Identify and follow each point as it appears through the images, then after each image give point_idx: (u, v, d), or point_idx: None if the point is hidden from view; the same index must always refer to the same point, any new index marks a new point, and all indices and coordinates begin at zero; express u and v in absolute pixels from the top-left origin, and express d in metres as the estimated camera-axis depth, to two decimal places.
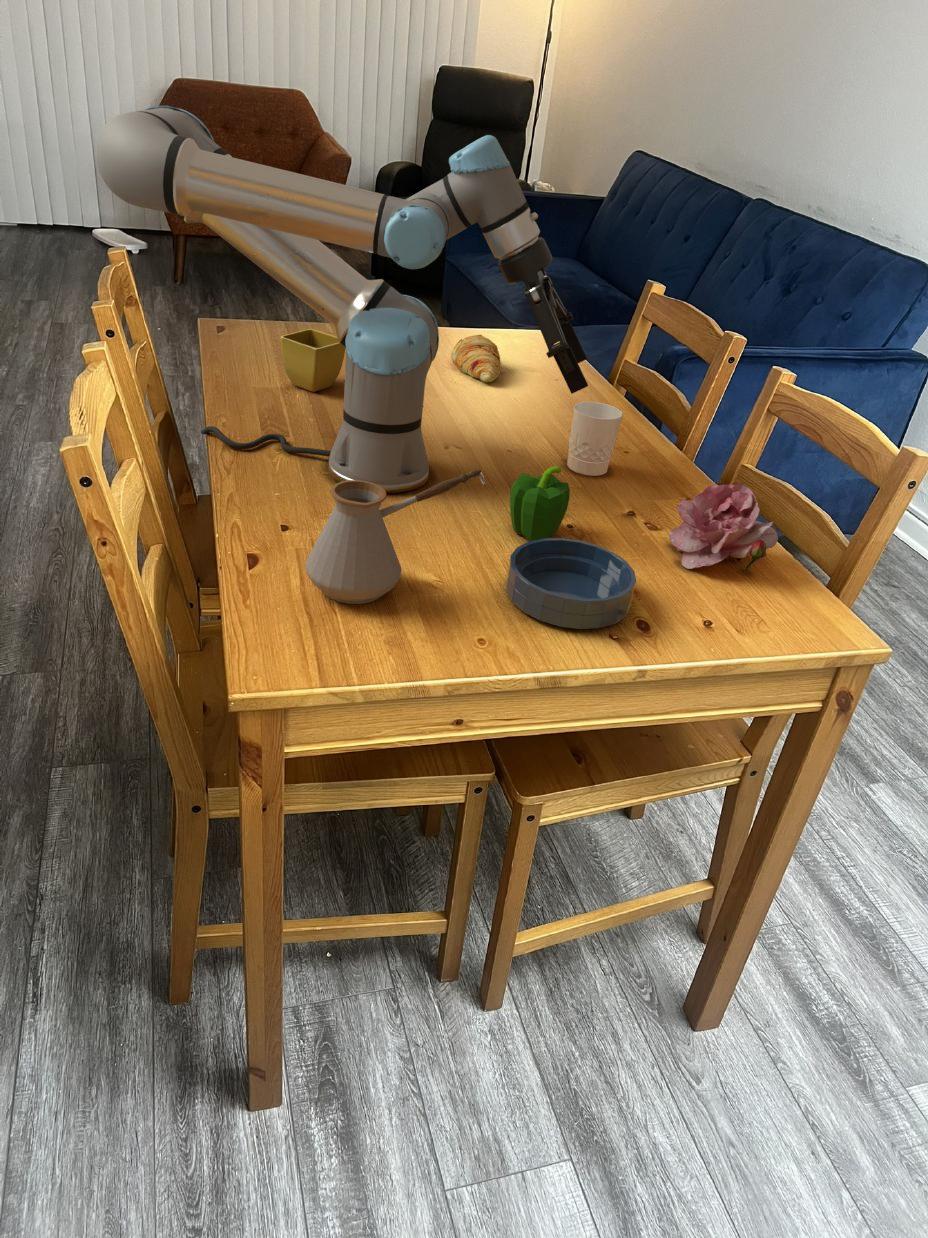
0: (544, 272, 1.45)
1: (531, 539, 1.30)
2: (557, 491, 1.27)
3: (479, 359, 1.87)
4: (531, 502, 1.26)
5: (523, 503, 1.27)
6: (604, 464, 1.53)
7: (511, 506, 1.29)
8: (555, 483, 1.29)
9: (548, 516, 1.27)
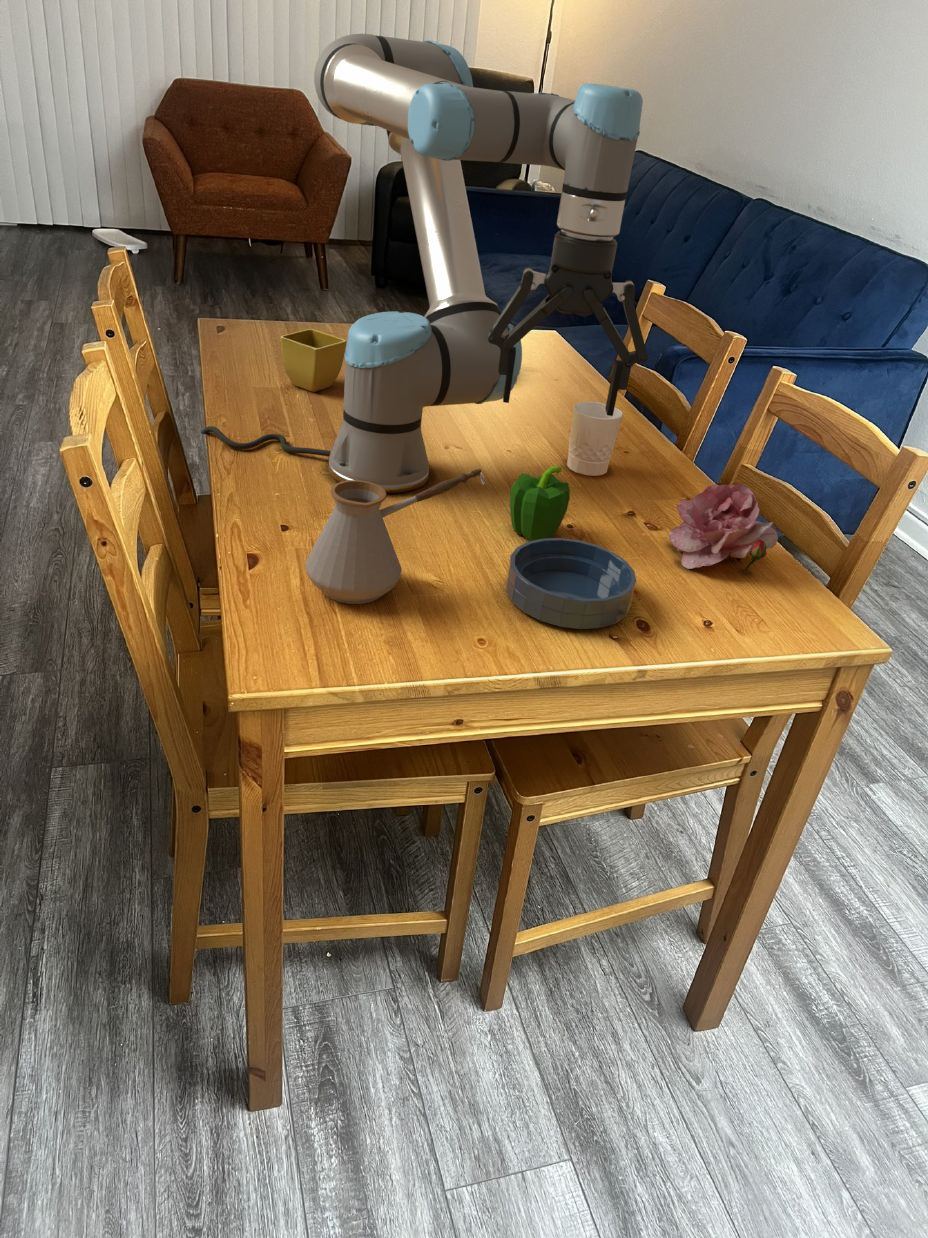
0: (624, 292, 1.14)
1: (531, 539, 1.30)
2: (557, 491, 1.27)
3: None
4: (531, 502, 1.26)
5: (523, 503, 1.27)
6: (604, 464, 1.53)
7: (511, 506, 1.29)
8: (555, 483, 1.29)
9: (548, 516, 1.27)
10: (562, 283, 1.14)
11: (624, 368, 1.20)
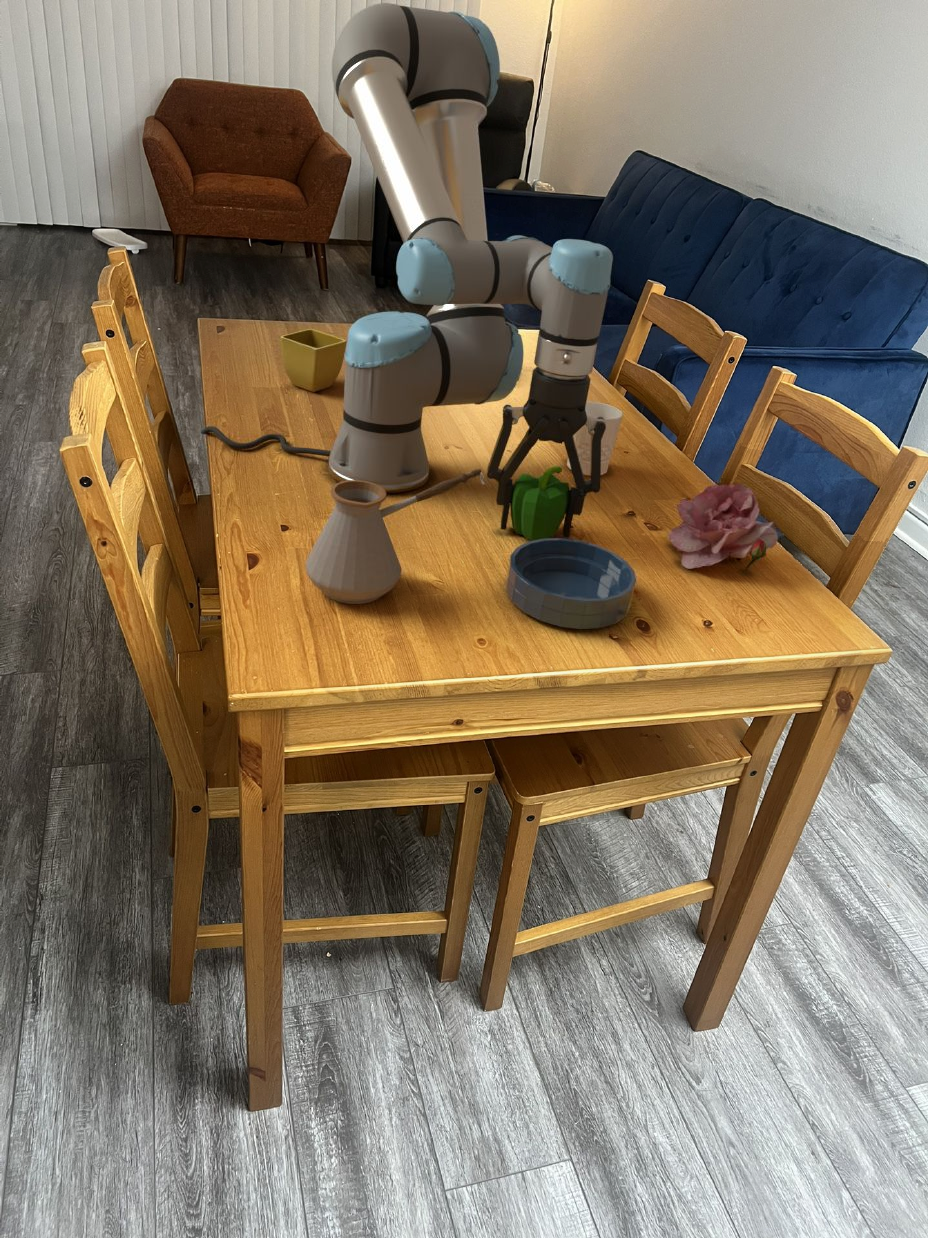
0: (595, 428, 1.23)
1: (531, 539, 1.30)
2: (557, 491, 1.27)
3: None
4: (532, 502, 1.26)
5: (524, 503, 1.27)
6: (604, 463, 1.53)
7: (511, 506, 1.29)
8: (555, 483, 1.29)
9: (548, 516, 1.27)
10: (539, 412, 1.22)
11: (578, 496, 1.29)
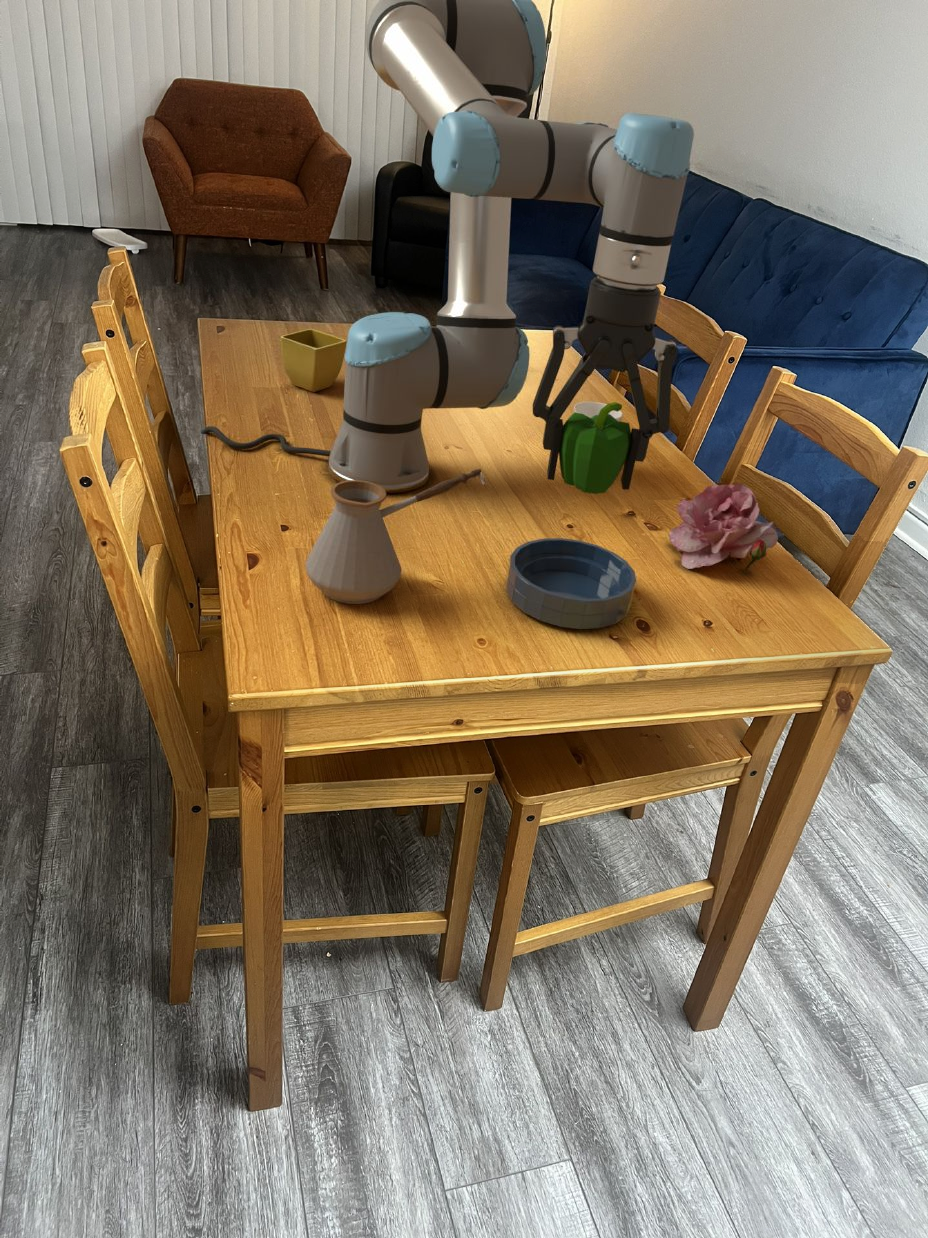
0: (665, 352, 1.02)
1: (585, 490, 1.09)
2: (618, 431, 1.05)
3: None
4: (588, 444, 1.05)
5: (577, 446, 1.06)
6: None
7: (561, 451, 1.08)
8: (614, 423, 1.08)
9: (607, 462, 1.06)
10: (598, 333, 1.01)
11: (642, 438, 1.07)
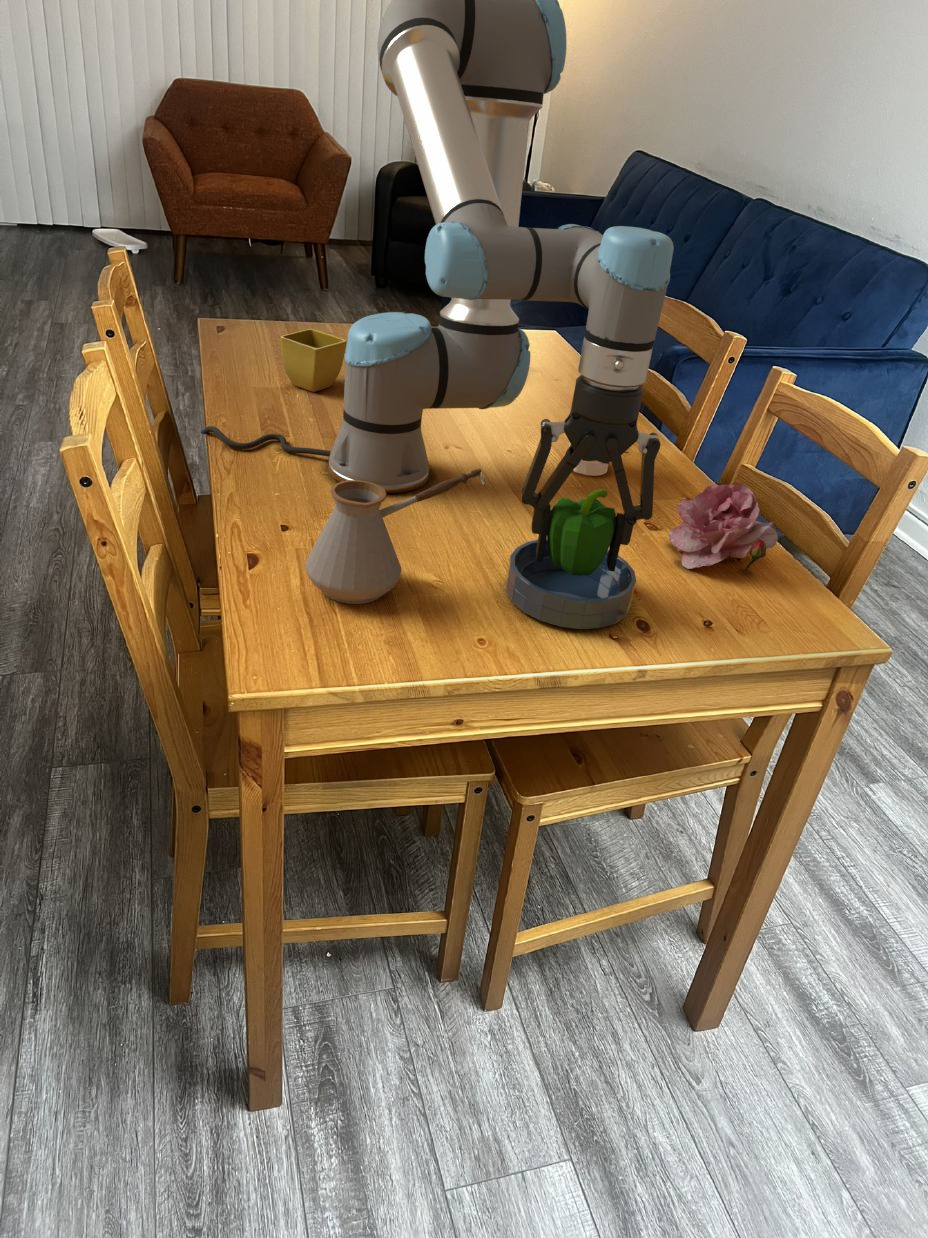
0: (648, 446, 1.06)
1: (572, 573, 1.13)
2: (603, 518, 1.10)
3: None
4: (574, 531, 1.09)
5: (564, 532, 1.10)
6: (604, 463, 1.53)
7: (549, 535, 1.13)
8: (600, 509, 1.12)
9: (592, 548, 1.10)
10: (583, 428, 1.05)
11: (627, 524, 1.12)
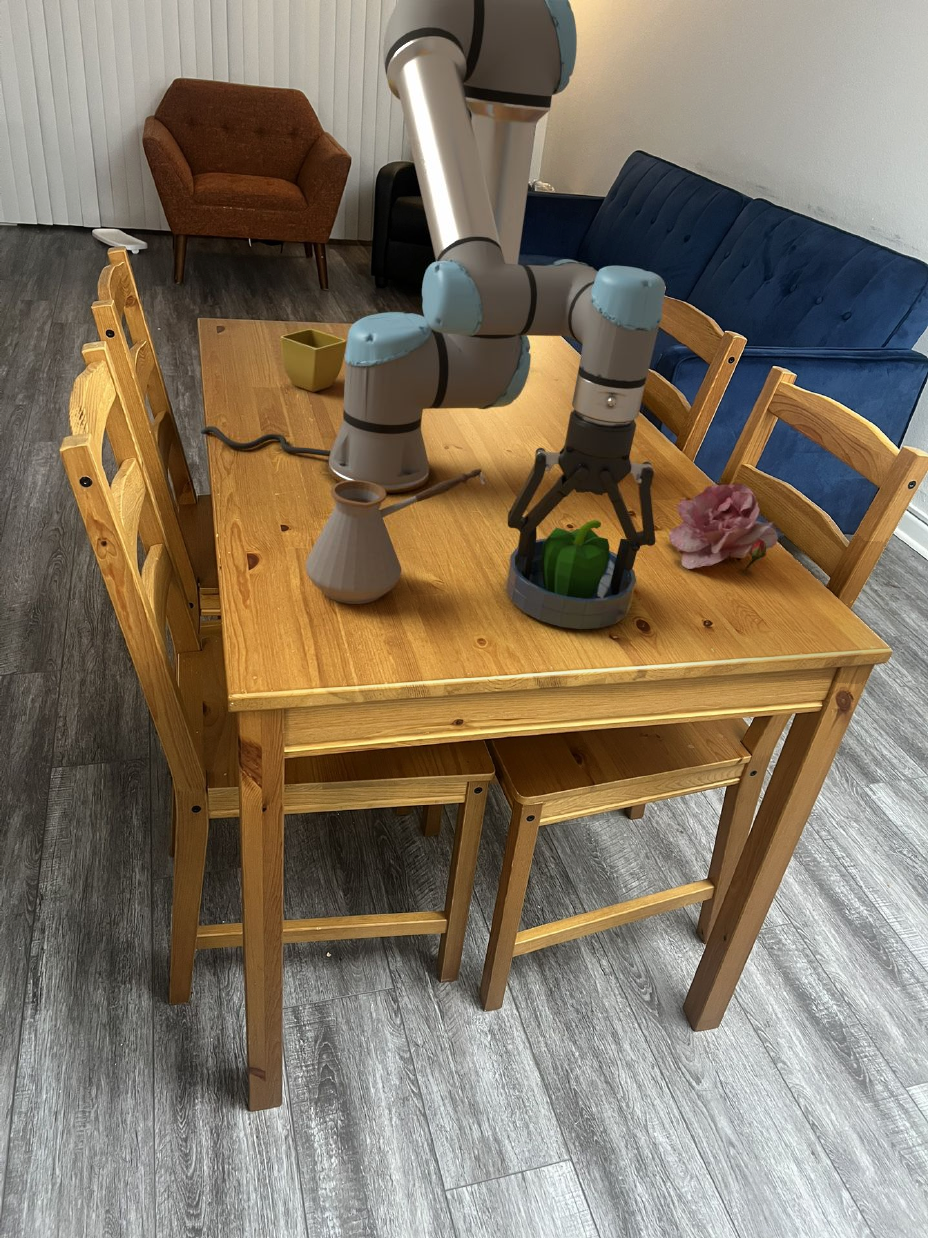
0: (642, 476, 1.08)
1: None
2: (596, 550, 1.12)
3: None
4: (568, 562, 1.11)
5: (558, 563, 1.12)
6: None
7: (543, 565, 1.15)
8: (593, 539, 1.14)
9: (586, 578, 1.12)
10: (577, 462, 1.08)
11: (630, 550, 1.14)
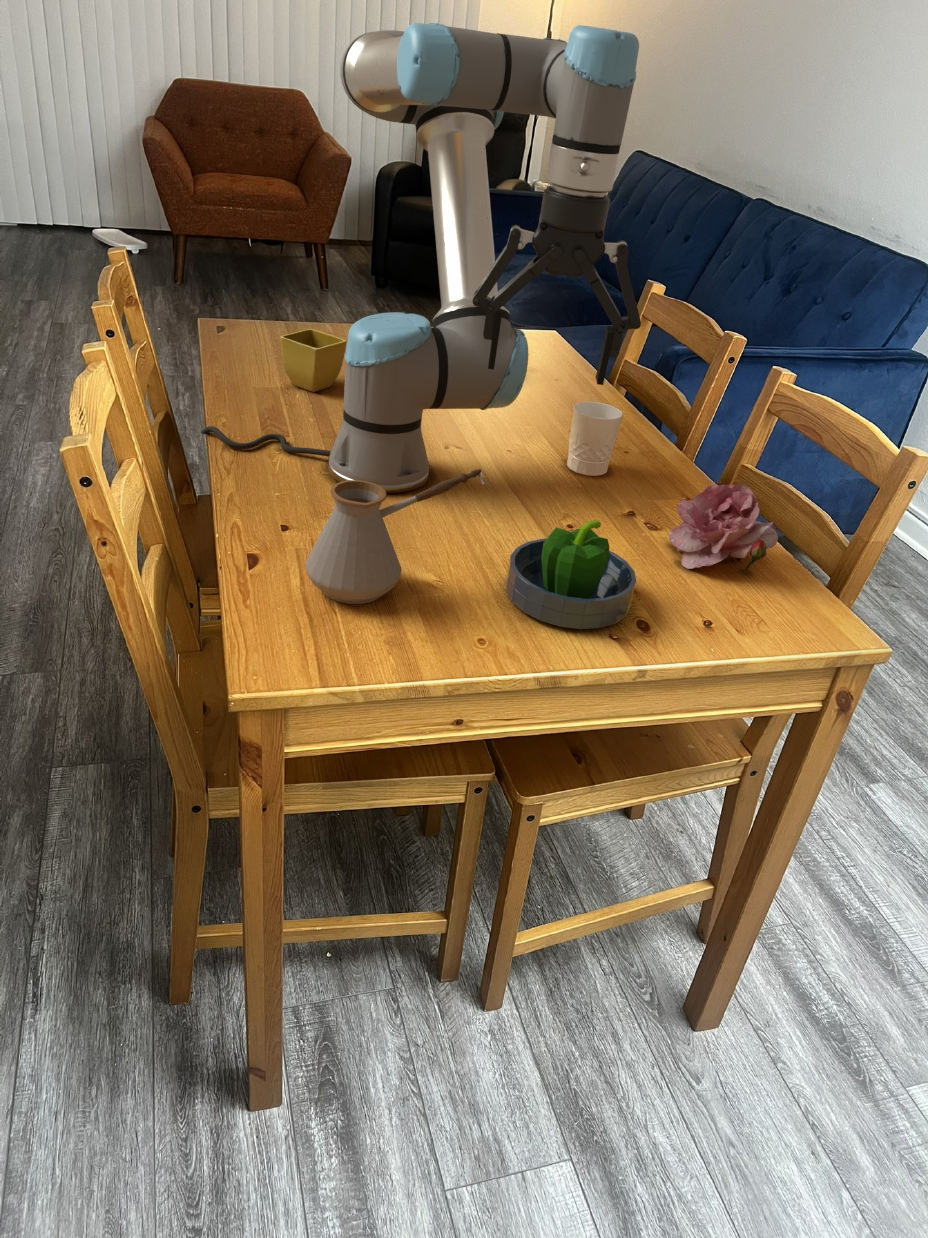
0: (617, 253, 1.08)
1: None
2: (596, 550, 1.12)
3: None
4: (568, 562, 1.11)
5: (558, 563, 1.12)
6: (604, 464, 1.53)
7: (543, 565, 1.15)
8: (593, 539, 1.14)
9: (586, 578, 1.12)
10: (551, 242, 1.08)
11: (616, 334, 1.13)
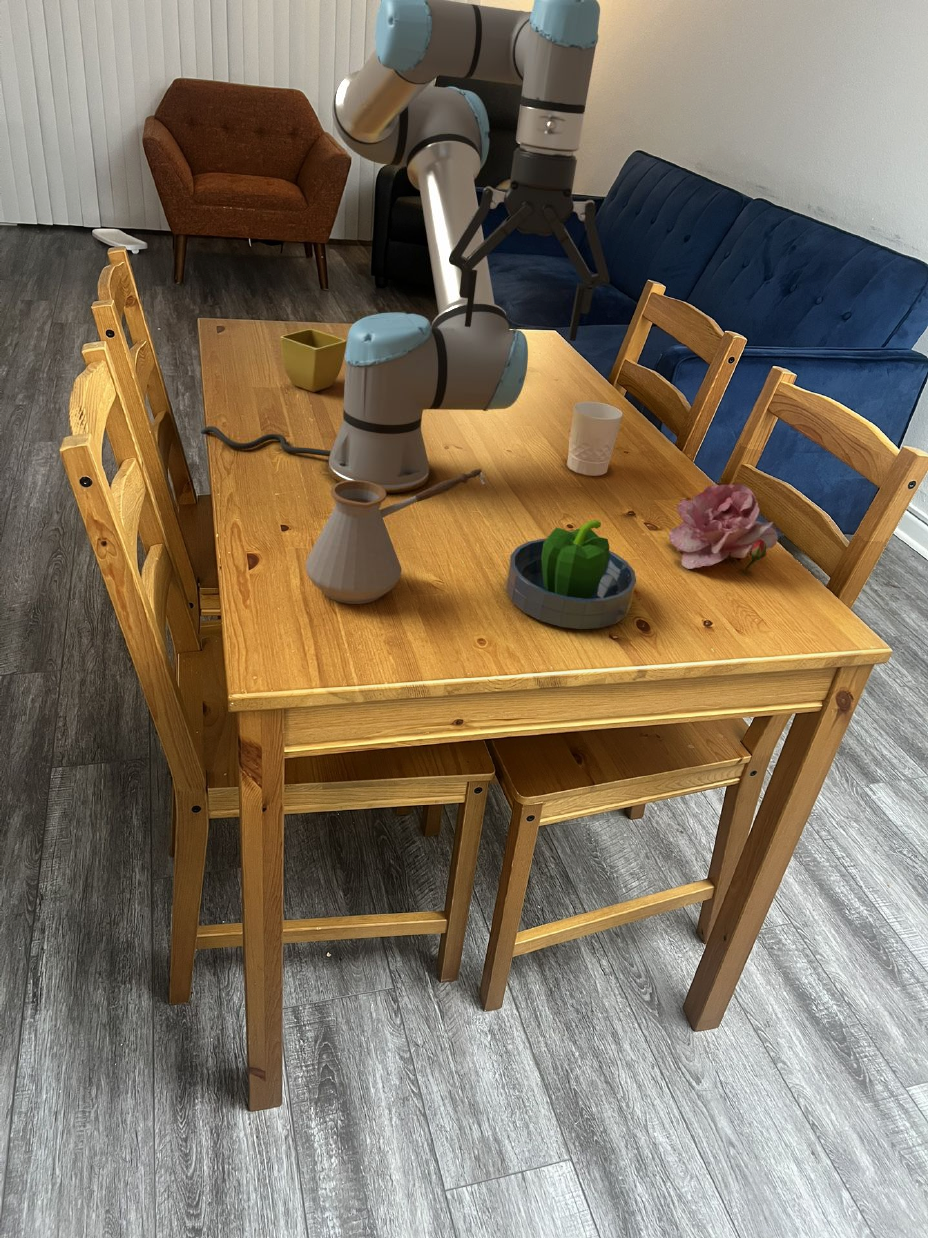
0: (585, 210, 1.13)
1: None
2: (596, 550, 1.12)
3: None
4: (568, 562, 1.11)
5: (558, 563, 1.12)
6: (604, 463, 1.53)
7: (543, 565, 1.15)
8: (593, 539, 1.14)
9: (586, 578, 1.12)
10: (522, 201, 1.13)
11: (586, 291, 1.18)
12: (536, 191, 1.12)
